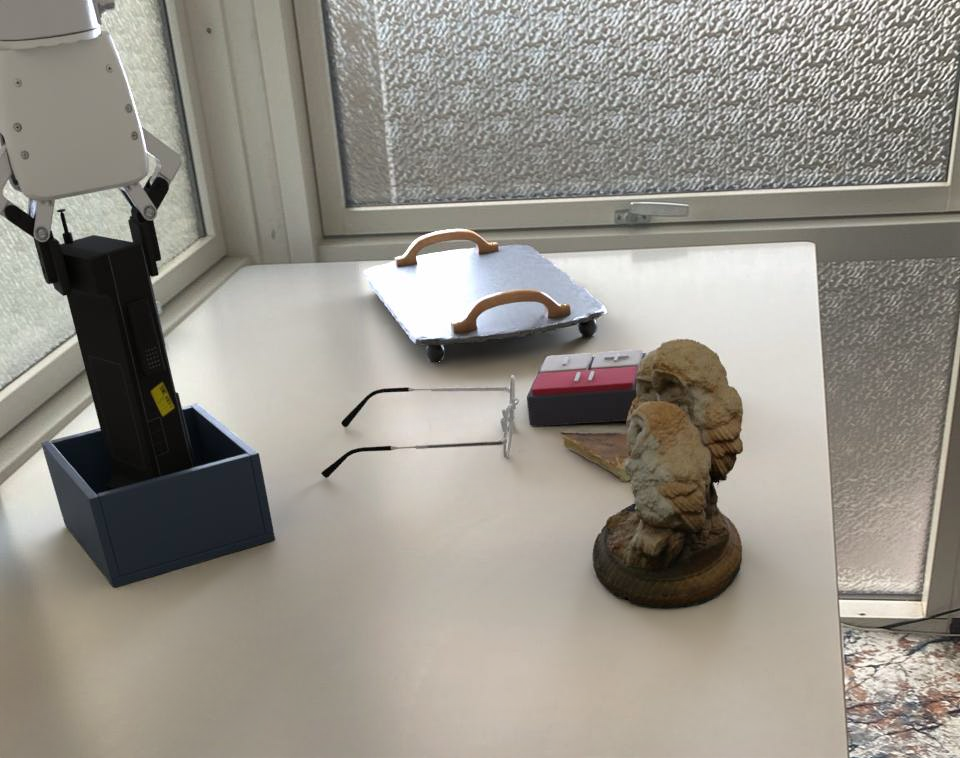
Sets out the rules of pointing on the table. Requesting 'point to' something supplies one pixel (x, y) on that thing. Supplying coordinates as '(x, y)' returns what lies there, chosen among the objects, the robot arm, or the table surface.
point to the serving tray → (479, 293)
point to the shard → (601, 450)
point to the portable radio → (125, 358)
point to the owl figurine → (675, 483)
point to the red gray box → (584, 388)
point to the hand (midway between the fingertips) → (106, 280)
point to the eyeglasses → (507, 415)
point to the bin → (162, 503)
